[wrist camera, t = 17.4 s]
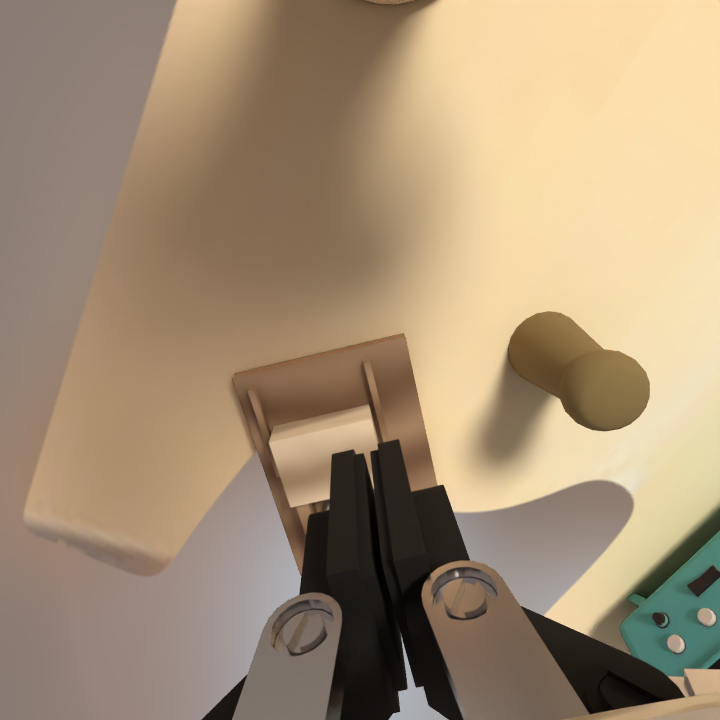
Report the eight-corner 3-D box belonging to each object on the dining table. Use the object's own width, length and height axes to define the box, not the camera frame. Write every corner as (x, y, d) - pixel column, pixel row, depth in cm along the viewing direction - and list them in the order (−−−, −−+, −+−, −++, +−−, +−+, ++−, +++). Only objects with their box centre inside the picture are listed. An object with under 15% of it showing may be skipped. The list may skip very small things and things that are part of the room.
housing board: (235, 373, 39) (225, 388, 36) (403, 333, 38) (409, 345, 35) (301, 566, 45) (298, 594, 42) (447, 534, 45) (455, 560, 41)
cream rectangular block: (273, 426, 39) (268, 442, 36) (369, 404, 39) (371, 419, 36) (293, 487, 41) (290, 507, 38) (385, 467, 41) (387, 485, 38)
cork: (597, 338, 39) (689, 389, 29) (547, 395, 40) (618, 463, 30) (542, 296, 38) (618, 333, 27) (493, 356, 39) (547, 413, 29)
